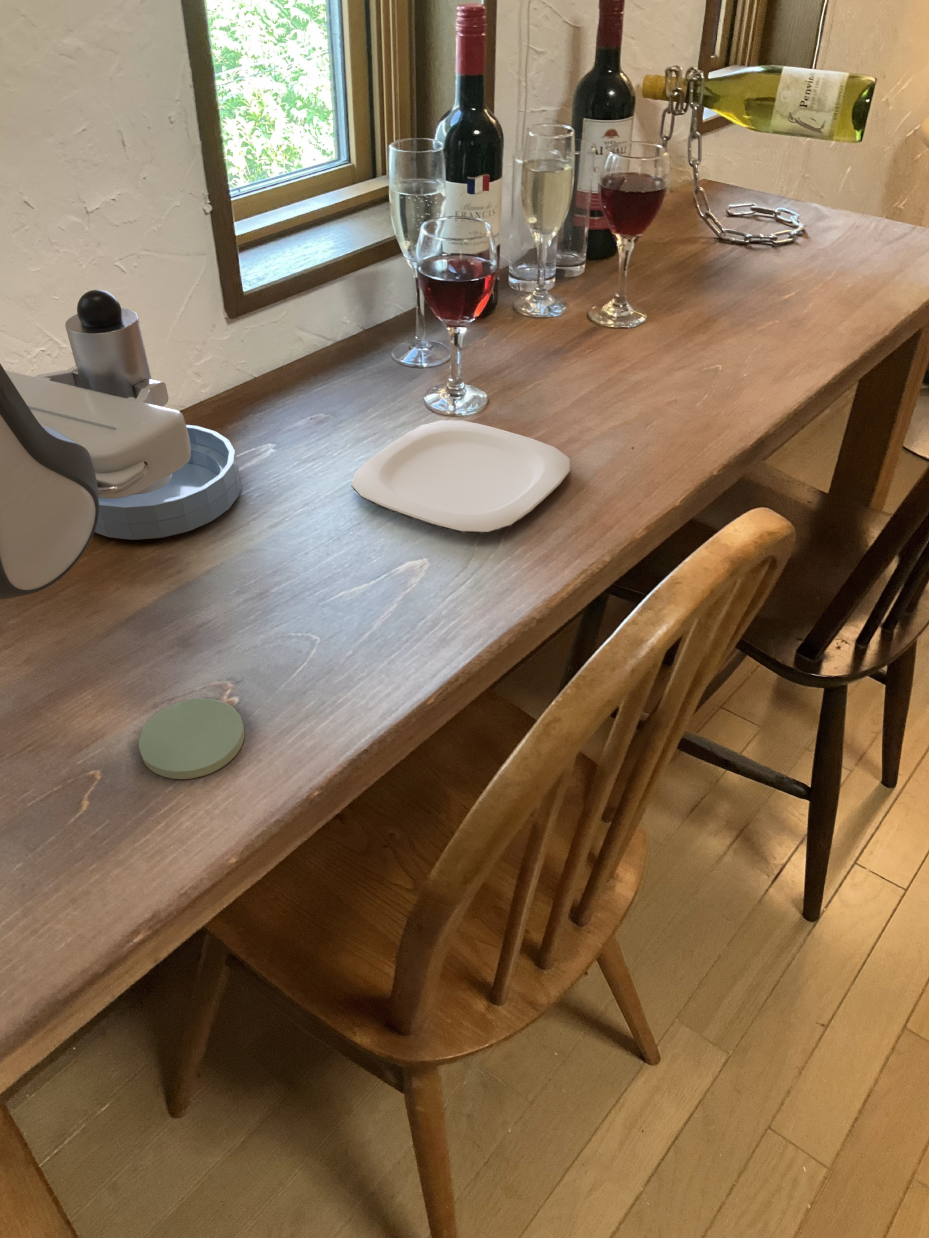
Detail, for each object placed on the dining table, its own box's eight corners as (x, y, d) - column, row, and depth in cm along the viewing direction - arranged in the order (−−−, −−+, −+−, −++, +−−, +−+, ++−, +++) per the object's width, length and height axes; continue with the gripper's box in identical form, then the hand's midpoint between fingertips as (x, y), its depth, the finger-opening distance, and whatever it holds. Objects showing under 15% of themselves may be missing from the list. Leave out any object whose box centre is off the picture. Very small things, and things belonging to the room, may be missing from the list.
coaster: (151, 793, 63) (148, 784, 62) (132, 724, 68) (130, 716, 67) (256, 759, 65) (254, 751, 64) (230, 694, 70) (228, 686, 69)
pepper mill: (113, 500, 74) (61, 308, 65) (103, 471, 78) (52, 285, 68) (178, 486, 76) (137, 297, 66) (165, 458, 79) (124, 274, 70)
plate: (437, 424, 102) (437, 409, 101) (589, 469, 94) (590, 453, 93) (329, 500, 90) (328, 484, 89) (493, 559, 83) (493, 542, 82)
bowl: (88, 561, 83) (76, 523, 81) (66, 480, 94) (55, 444, 91) (259, 520, 88) (253, 482, 86) (220, 447, 99) (213, 412, 96)
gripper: (96, 454, 57) (232, 366, 67) (-144, 392, 64) (12, 319, 74) (120, 542, 61) (245, 446, 71) (-108, 474, 68) (35, 395, 78)
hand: (125, 381), depth 72 cm, fingers closed on pepper mill, 5 cm apart
